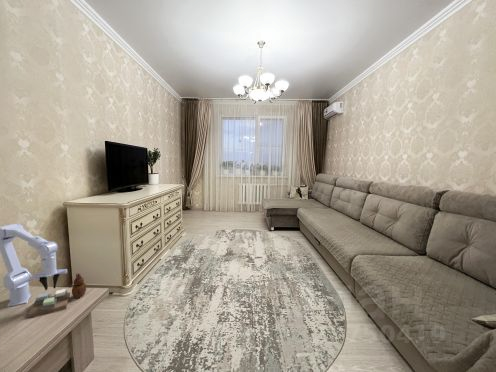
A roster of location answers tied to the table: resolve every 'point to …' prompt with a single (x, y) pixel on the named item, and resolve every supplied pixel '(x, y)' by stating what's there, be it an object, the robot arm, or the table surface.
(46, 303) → the green button
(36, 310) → the console
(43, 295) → the grey button
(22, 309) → the table surface
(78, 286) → the wooden figurine
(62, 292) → the white button
